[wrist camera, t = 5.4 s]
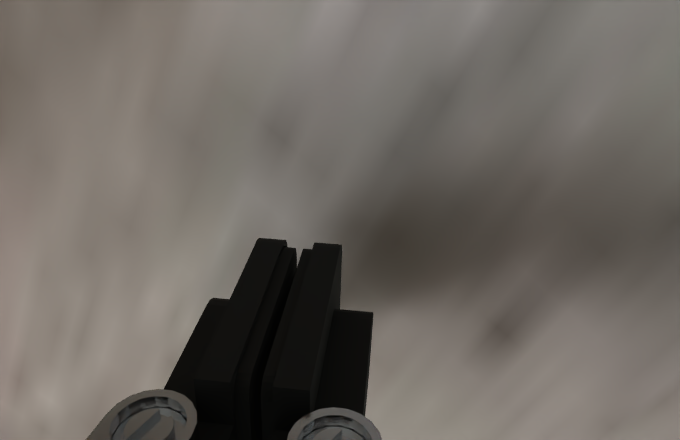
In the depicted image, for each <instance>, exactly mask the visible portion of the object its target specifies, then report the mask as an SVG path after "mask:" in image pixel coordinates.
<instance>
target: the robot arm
mask: <svg viewBox="0 0 680 440" xmlns="http://www.w3.org/2000/svg"><path fill="white" fill-rule="evenodd" d="M341 263H342V245H338V244H326V243H314V245H313V248H312V249H303V251H302V254H301V257H300V260H299V263H298V267H297V253H296V248H288V247H287V242H286V240H277V239H265V238H258V240H257V242H256V244H255V246H254V248H253V250H252V252H251V255H250V257H249V259H248V261H247V263H246V265H245V268H244V270H243V272H242V274H241V276H240V278H239V281H238V283H237V285H236V287H235V289H234V291H233V294H232V296H231V298H230V299H219V298H212V299H211V300H210V301H209V302H208V304H207V306H206V308H205V310H204V312H203V313H202V315H201V317H200V319H199V321H198V323H197V325H196V327H195V329H194V331H193V333H192V335H191V337H190V339H189V341H188V343H187V345H186V347H185V349H184V351H183V353H182V354H181V356H180V358H179V360H178V362H177V364H176V366H175V368H174V370H173V372H172V374H171V376H170V378H169V380H168V382H167V384H166V386H165V388H164V390H163V389H156V390H148V391H143V392H140V393H137V394H134V395H131V396H129V397H127V398H126V399H124V400H122V401H121V402H119V403H117V404H116V405H115V406H114V407H113V408H112V409H111V410H110V411H109V412H108V413H107V414H106V415H105V416H104V418H103V419H102V420H101V421H100V423H99V424H98V425H97V426H96V428H95V429H94V430H93V431H92V432H91V434H90V435H89V436H88V437H87V439H86V440H382V438H381V435H380V432H379V431H378V429H377V428H376V427H375V426H374V424H373V423H372V422H371V421H370V420H369V419H367V418H366V417H365V410H366V399H367V389H368V377H369V366H370V353H371V340H372V325H373V312H362V311H351V310H340V291H341Z"/></svg>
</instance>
